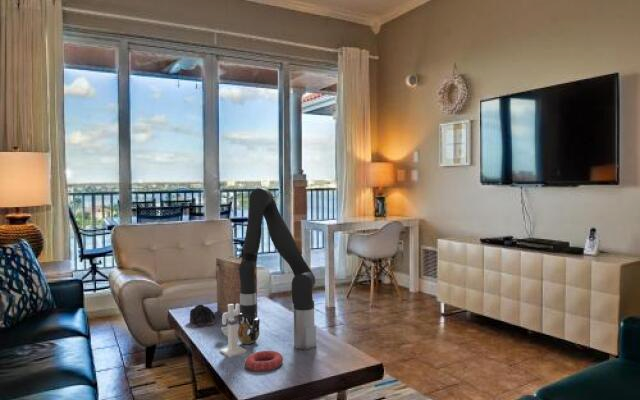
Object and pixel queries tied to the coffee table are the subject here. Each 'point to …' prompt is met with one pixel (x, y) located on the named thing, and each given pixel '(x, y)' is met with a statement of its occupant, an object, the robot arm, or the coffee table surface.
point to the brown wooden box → (229, 283)
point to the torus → (273, 362)
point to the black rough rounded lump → (201, 316)
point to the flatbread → (245, 334)
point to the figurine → (230, 316)
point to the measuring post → (232, 340)
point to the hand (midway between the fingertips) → (249, 338)
